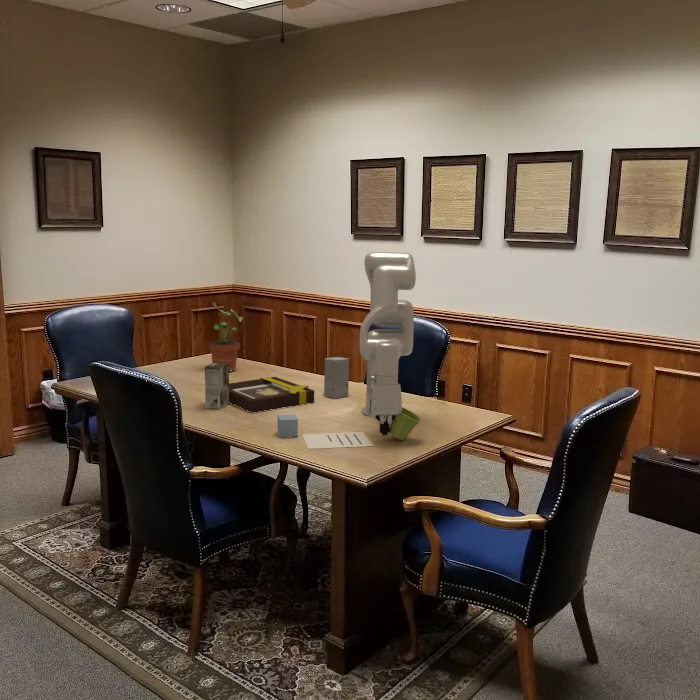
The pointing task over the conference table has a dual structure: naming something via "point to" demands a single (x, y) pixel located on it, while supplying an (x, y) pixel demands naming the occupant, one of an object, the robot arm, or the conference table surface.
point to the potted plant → (225, 344)
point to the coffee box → (216, 385)
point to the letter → (336, 440)
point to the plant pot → (403, 424)
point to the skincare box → (336, 377)
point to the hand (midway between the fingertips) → (384, 434)
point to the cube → (287, 425)
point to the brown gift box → (268, 394)
